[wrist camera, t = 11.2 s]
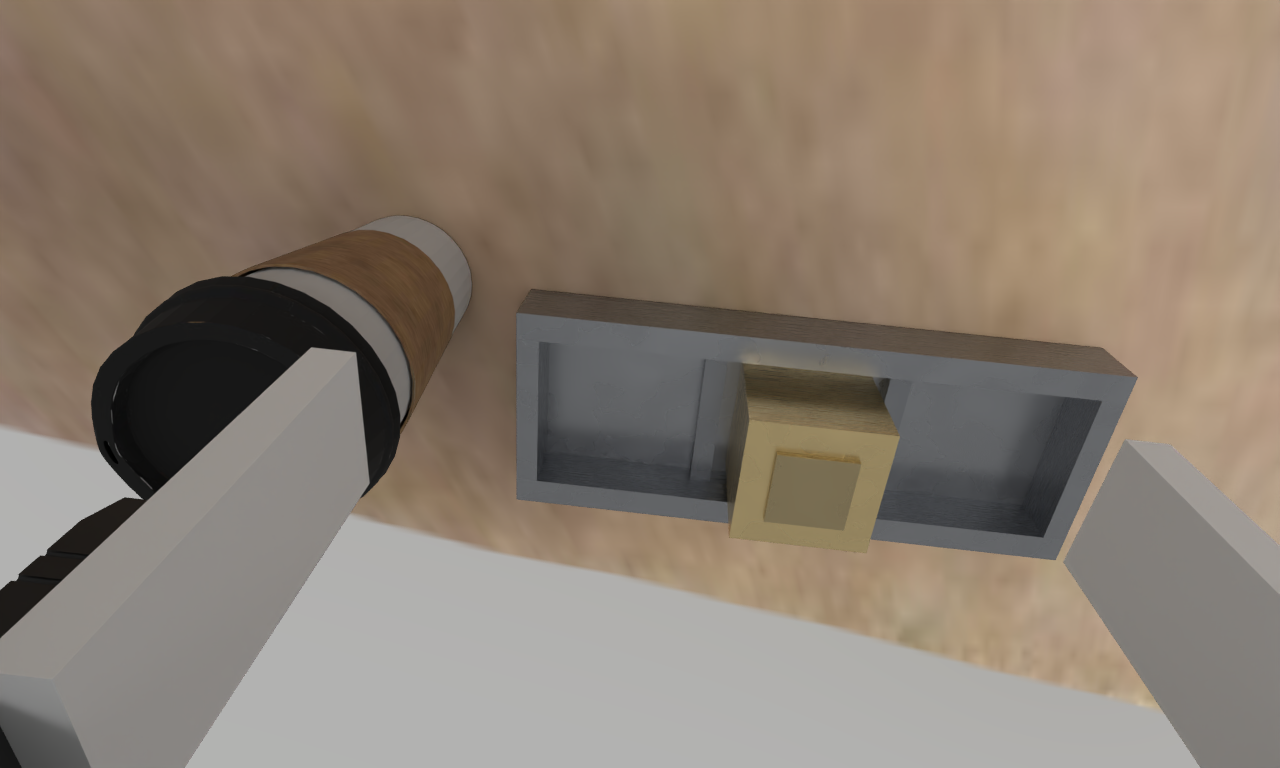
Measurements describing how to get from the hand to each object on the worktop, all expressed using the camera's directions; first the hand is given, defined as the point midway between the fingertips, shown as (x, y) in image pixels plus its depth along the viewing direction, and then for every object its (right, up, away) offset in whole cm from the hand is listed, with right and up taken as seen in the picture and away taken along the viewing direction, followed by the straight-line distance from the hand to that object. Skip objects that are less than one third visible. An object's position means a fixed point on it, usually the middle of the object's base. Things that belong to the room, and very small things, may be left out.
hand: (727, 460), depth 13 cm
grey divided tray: (+6, 0, +23) cm, 24 cm away
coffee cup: (-12, +7, +22) cm, 26 cm away
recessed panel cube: (+6, 0, +23) cm, 24 cm away
